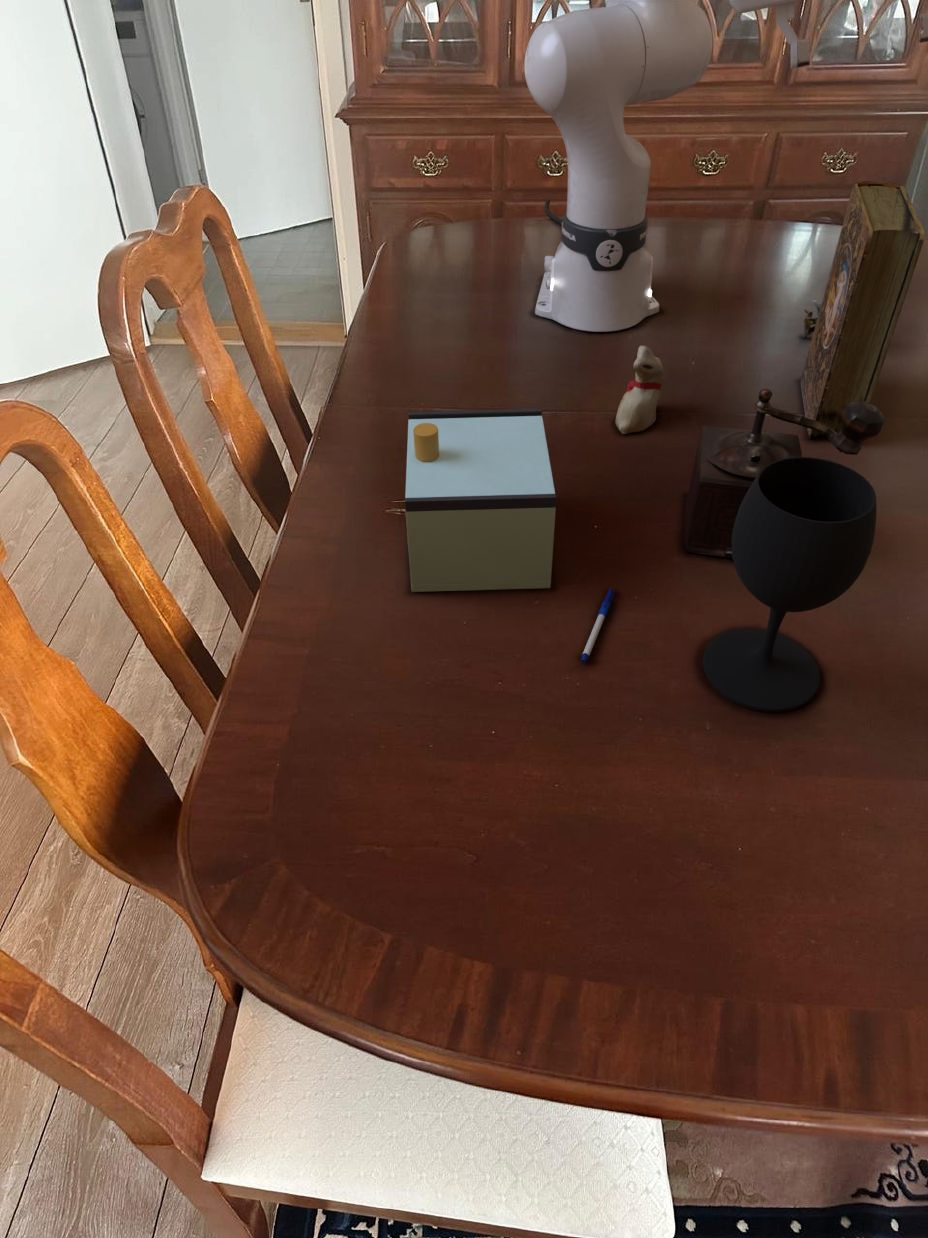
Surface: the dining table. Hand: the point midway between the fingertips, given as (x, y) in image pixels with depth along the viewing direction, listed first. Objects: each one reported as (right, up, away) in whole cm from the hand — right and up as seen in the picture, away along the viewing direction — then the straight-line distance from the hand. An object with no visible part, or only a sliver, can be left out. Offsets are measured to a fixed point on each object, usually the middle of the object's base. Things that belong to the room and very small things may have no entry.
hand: (863, 53), depth 71 cm
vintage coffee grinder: (0, -36, +25) cm, 44 cm away
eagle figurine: (+21, -6, +56) cm, 60 cm away
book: (+14, -19, +43) cm, 49 cm away
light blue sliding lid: (-31, -29, +17) cm, 46 cm away
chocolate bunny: (-10, -20, +42) cm, 48 cm away
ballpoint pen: (-19, -46, +14) cm, 52 cm away
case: (-30, -37, +24) cm, 54 cm away
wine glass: (-5, -50, +10) cm, 51 cm away
